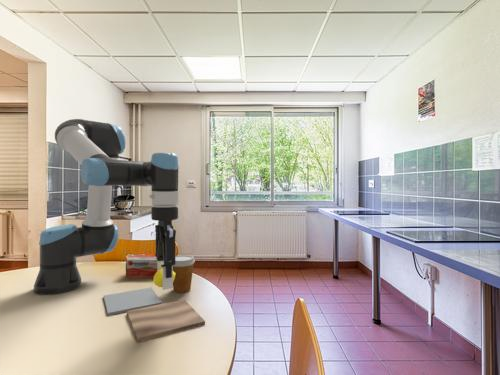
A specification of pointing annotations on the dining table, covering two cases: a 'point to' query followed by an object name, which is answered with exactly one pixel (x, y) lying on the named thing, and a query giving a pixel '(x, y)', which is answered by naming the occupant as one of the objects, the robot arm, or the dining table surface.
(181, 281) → the disposable coffee cup
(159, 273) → the lemon
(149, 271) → the medicine box
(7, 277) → the dining table surface
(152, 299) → the slate grey mat
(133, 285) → the dining table surface
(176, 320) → the walnut board
